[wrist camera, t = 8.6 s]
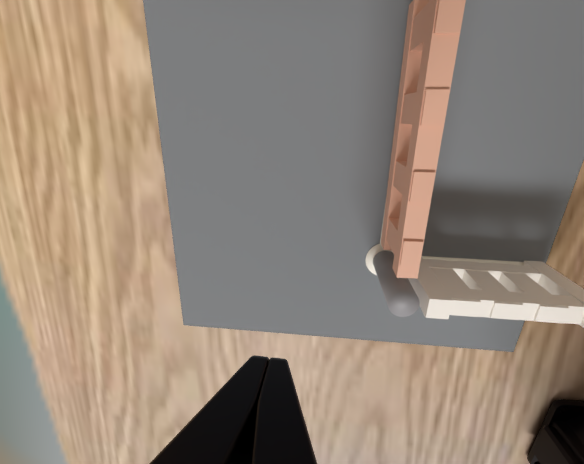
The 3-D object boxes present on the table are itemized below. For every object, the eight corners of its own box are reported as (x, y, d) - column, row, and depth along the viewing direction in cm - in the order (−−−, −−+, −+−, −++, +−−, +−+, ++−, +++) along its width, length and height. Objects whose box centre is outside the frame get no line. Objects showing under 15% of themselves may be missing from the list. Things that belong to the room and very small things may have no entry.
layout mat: (670, -95, 12) (679, -100, 12) (510, 348, 20) (514, 352, 20) (136, -83, 14) (131, -88, 13) (185, 322, 22) (183, 325, 21)
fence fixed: (542, 261, 17) (619, 312, 13) (537, 277, 18) (609, 331, 13) (402, 253, 18) (429, 298, 13) (399, 268, 18) (425, 317, 14)
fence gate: (395, 272, 18) (417, 317, 14) (371, 271, 18) (386, 316, 14) (433, 7, 13) (482, -40, 9) (400, 8, 14) (435, -38, 9)
